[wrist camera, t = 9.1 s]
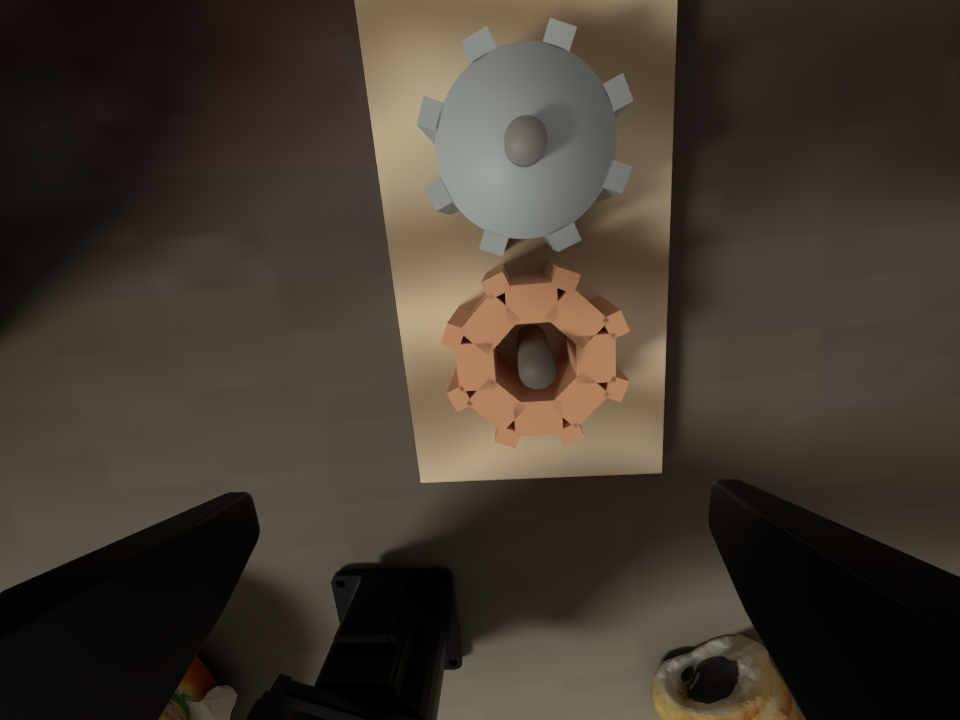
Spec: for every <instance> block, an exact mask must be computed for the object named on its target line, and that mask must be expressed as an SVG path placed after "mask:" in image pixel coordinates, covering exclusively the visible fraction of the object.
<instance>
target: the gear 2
mask: <svg viewBox="0 0 960 720" xmlns="http://www.w3.org/2000/svg"><path fill="white" fill-rule="evenodd" d="M580 276H581V274H579V273H578V272H576V271H574V270H573V269H571V268H570V267H568V266H566V265H563V264H559V263H556V262H553V261H550V260H548V262H547V265H546V268H545V270H544V272H543V273H532V274H520V275H509V273H508V271H507V269H506V267H505V265H504V264H502V265H500V266H498V267H497V268H495V269H493V270H491V271H489V272H487V273H486V274H485V276H484V278H483V279H482V281H481V285H482V287H483V289H484V291H485V293H484V294H483V296H482V297H481V298H480V299H479V300H478V302H477V303H476V304H475V305H474V306H473V308H472V309H471V310H469V309H466V308H463V307H460V306H458V308H457V309H456V311H455V312H454V314H453V315H452V317H451V318H450V320H449V321H448V323H447V325H446V328H445V332H444V335H443V339H442V342H441V345H442V346H445V347H448V348H452V349H455V354H456V363H457V367H456V370H455V372H454V375H453V377H452V380H451V382H450V385H449V388H448V390H447V393H446V394H447V395H448V397H449V399H450V401H451V402H452V404H453V406H454V408H455V409H456V411H457V412H458V411H460V410H462V409H465V408H467V407H469V406H470V407H471V408H473V409H474V410H475V411H476V412H478V413H479V414H480V415H481V416H483V417H484V418H485V419H486V420H488V421H489V422H490V423H491V424H493V425H494V426H495V427H496V430H495V442H497V443H500V444H503V445H506V446H509V447H513V448H516V446H517V443H518V441H519V438H520V436H533V435H552V434H559V436H560V438H561V440H562V442H563V444H564V446H566V445H568V444H570V443H573V442H575V441H577V440H580V439H582V438H584V437H585V435H584V432H583V430H582V427H581V423H582V422H583V421H584V420H585V419H586V418H587V417H588V416H589V415H590V414H591V413H592V412H593V411H594V410H595V409H596V408H597V407H598V406H599V405H600V404H601V403H602V402H603V401H604V400H605V399H606V398H609V399H612V400H615V401H618V402H621V401H622V399H623V397H624V394H625V392H626V390H627V388H628V385H629V383H630V381H629V380H628V379H627V377H626V376H625V375H624V373H623V372H622V371H621V370H620V368H619V367H618V366H617V365H616V338H617V337H619V336H621V335H624V334H626V333H628V332H630V329H629V327H628V325H627V323H626V320H625V318H624V316H623V314H622V311H621V310H620V309H619V308H617V307H616V306H615V305H613V304H612V303H610V302H609V301H608V300H606V299H605V298H603V297H602V296H601V295H599V296H597V297H595V298H593V299H590V300H586V299H585V298H584V297H583V296H582V295H581V294H580V293H579V292H577V291H576V290H575V289H576V286H577V284H578V281H579V278H580ZM543 322H551V323H552V324H553V325H555V326H556V327H557V328H558V329H559V330H560V331H561V332H563V333H564V341H565V351H564V352H563V353H562V354H561V355H560V356H559V357H558V358H557V359H556V360H555V361H554V362H555V365H556V370H557V371H556V377H555V379H554V381H553V382H552V383H551V384H550V385H549V386H547V387H546V388H543V389H532V388H529V387H527V386H526V385H525V384H524V383H523V382H522V381H521V379H520V376H519V372H518V371H517V370H516V369H515V368H514V367H512V366H511V365H510V364H509V363H507V362H506V361H505V360H504V359H503V358H501V357H500V356H499V355H498V346H497V345H498V344H499V343H500V341H501V340H502V339H503V338H504V337H505V336H506V335H507V334H508V332H509V331H510V330H511V329H512V328H513V327H514V326H515V325H516V324H530V323H543Z"/></svg>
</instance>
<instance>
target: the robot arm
mask: <svg viewBox="0 0 960 720" xmlns="http://www.w3.org/2000/svg"><path fill="white" fill-rule="evenodd" d="M709 527H710V530H711V533H712V536H713V538H714V540H715V542H716V545H717V547H718V549H719V552H720V554H721V556H722V559H723V561H724V563H725V566H726V568H727V570H728V573H729V575H730V577H731V580H732V582H733V584H734V587H735V589H736V591H737V594H738V596H739V598H740V600H741V602H742V605H743V607H744V609H745V611H746V613H747V615H748V617H749V618H750V620H751V622H752V624H753V626H754V628H755V630H756V631H757V633H758V635H759V637H760V638H761V640H762V642H763V644H764V646H765V647H766V649H767V651H768V653H769V655H770V656H771V658H772V660H773V662H774V663H775V665H776V667H777V669H778V671H779V672H780V674H781V676H782V678H783V680H784V681H785V683H786V685H787V687H788V689H789V690H790V692H791V694H792V696H793V697H794V699H795V701H796V703H797V705H798V706H799V708H800V710H801V712H802V714H803V715H804V717H805V719H806V720H960V577H958V576H956V575H954V574H952V573H949V572H947V571H945V570H943V569H940V568H938V567H936V566H933V565H931V564H929V563H927V562H924V561H922V560H920V559H918V558H915V557H913V556H911V555H908V554H906V553H904V552H902V551H899V550H897V549H895V548H893V547H890V546H888V545H886V544H883V543H881V542H879V541H877V540H874V539H872V538H870V537H868V536H865V535H863V534H861V533H858V532H856V531H854V530H852V529H849V528H847V527H845V526H843V525H840V524H838V523H836V522H834V521H831V520H829V519H827V518H824V517H822V516H820V515H818V514H815V513H813V512H811V511H809V510H806V509H804V508H802V507H799V506H797V505H795V504H793V503H790V502H788V501H786V500H784V499H781V498H779V497H777V496H775V495H772V494H770V493H768V492H765V491H763V490H761V489H759V488H756V487H754V486H752V485H750V484H747V483H745V482H743V481H740V480H737V479H720V480H715V481H714V482H713V484H712V486H711V495H710V507H709ZM259 533H260V527H259V522H258V518H257V514H256V510H255V505H254V501H253V498H252V496H251V495H250V494H249V493H247V492H230V493H226V494H224V495H221V496H219V497H217V498H214V499H212V500H210V501H208V502H205V503H203V504H201V505H198V506H196V507H194V508H191V509H189V510H187V511H185V512H182V513H180V514H178V515H175V516H173V517H171V518H169V519H166V520H164V521H162V522H159V523H157V524H155V525H153V526H150V527H148V528H146V529H143V530H141V531H139V532H137V533H134V534H132V535H130V536H127V537H125V538H123V539H121V540H118V541H116V542H114V543H111V544H109V545H107V546H105V547H102V548H100V549H98V550H95V551H93V552H91V553H89V554H86V555H84V556H82V557H79V558H77V559H75V560H73V561H70V562H68V563H66V564H63V565H61V566H59V567H57V568H54V569H52V570H50V571H47V572H45V573H43V574H41V575H38V576H36V577H34V578H31V579H29V580H27V581H25V582H22V583H20V584H18V585H15V586H13V587H11V588H9V589H6V590H4V591H2V592H1V593H0V720H159V718H160V716H161V715H162V713H163V711H164V710H165V708H166V706H167V705H168V703H169V701H170V700H171V698H172V696H173V695H174V693H175V691H176V690H177V688H178V686H179V685H180V683H181V681H182V680H183V678H184V676H185V675H186V673H187V671H188V670H189V668H190V666H191V665H192V663H193V661H194V660H195V658H196V656H197V655H198V653H199V651H200V650H201V648H202V646H203V645H204V643H205V641H206V640H207V638H208V636H209V635H210V633H211V631H212V630H213V628H214V626H215V625H216V623H217V621H218V619H219V618H220V616H221V614H222V612H223V610H224V608H225V606H226V604H227V603H228V601H229V599H230V597H231V595H232V592H233V590H234V588H235V586H236V584H237V582H238V580H239V578H240V576H241V574H242V572H243V570H244V568H245V566H246V564H247V561H248V559H249V557H250V555H251V553H252V551H253V549H254V547H255V545H256V543H257V541H258V538H259ZM440 578H445V579H446V580H441V579H440ZM340 580H342V581H344V582H341V581H340ZM331 585H332V589H333V594H334V598H335V603H336V608H337V612H338V617H339V621H340V625H339V628H338V630H337V632H336V635H335V637H334V641H333V643H332V646H331V648H330V650H329V653H328V655H327V657H326V660H325V662H324V664H323V667H322V669H321V671H320V674H319V676H318V678H317V681H316V683H315V686H311V685H308V684H305V683H301V682H298V681H295V680H292V677H291V676H288V675H284V674H281V673H280V674H279V676H278V678H277V679H276V681H275V683H274V684H273V686H272V687H271V689H270V691H267V690H266V691H265V693H264V694H263V696H262V697H261V698H260V699H257V700H256V702H255V704H254V705H253V707H252V709H251V711H250V713H249V715H248V717H247V718H246V720H437V714H438V707H439V701H440V694H441V687H442V681H443V674H444V670H455V669H458V668H460V667H461V666H462V658H463V654H462V646H461V638H460V630H459V622H458V614H457V605H456V597H455V589H454V581H453V575H452V573H451V572H450V570H448V569H444V568H431V569H387V570H344V571H338V572H336V573H335V575H334V577H333V579H332V581H331ZM454 659H455V660H454Z"/></svg>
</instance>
